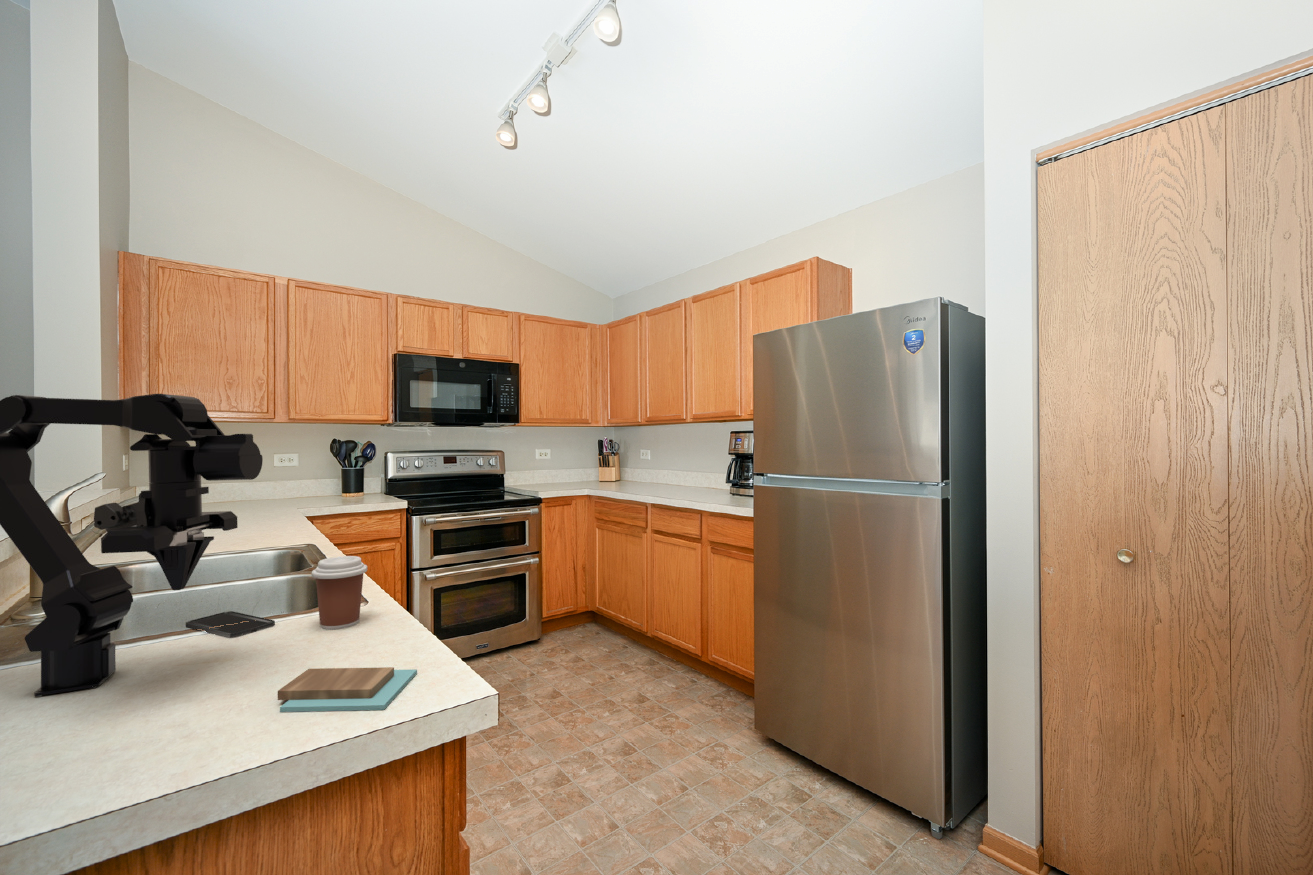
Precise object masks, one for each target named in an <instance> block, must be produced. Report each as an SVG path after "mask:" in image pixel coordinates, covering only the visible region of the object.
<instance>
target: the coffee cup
mask: <svg viewBox="0 0 1313 875" xmlns="http://www.w3.org/2000/svg"><path fill="white" fill-rule="evenodd" d="M367 571H368V565H367V564H364V562H362V558H361V557H360V556H358V555H341V556H332V557H327V558H323V559H320V560H319V561H318V562H317V566H316V568H315V569H313V570H312V571H311V577H312V578H313V579H315V584H316V586H315V587H316V595H317V596H316V597H317V606H318V615H319V617H318V618H319V627H320V629H322V630H326V631H327V630H328V631H333V630H344V629H346V628H351V627H354V626H356V625H358V624H359V623H360V615H361V605H362V604H361V603H362V596H363V595H362V593H363V583H364V582H363V581H364V574H365V573H367Z"/></svg>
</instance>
